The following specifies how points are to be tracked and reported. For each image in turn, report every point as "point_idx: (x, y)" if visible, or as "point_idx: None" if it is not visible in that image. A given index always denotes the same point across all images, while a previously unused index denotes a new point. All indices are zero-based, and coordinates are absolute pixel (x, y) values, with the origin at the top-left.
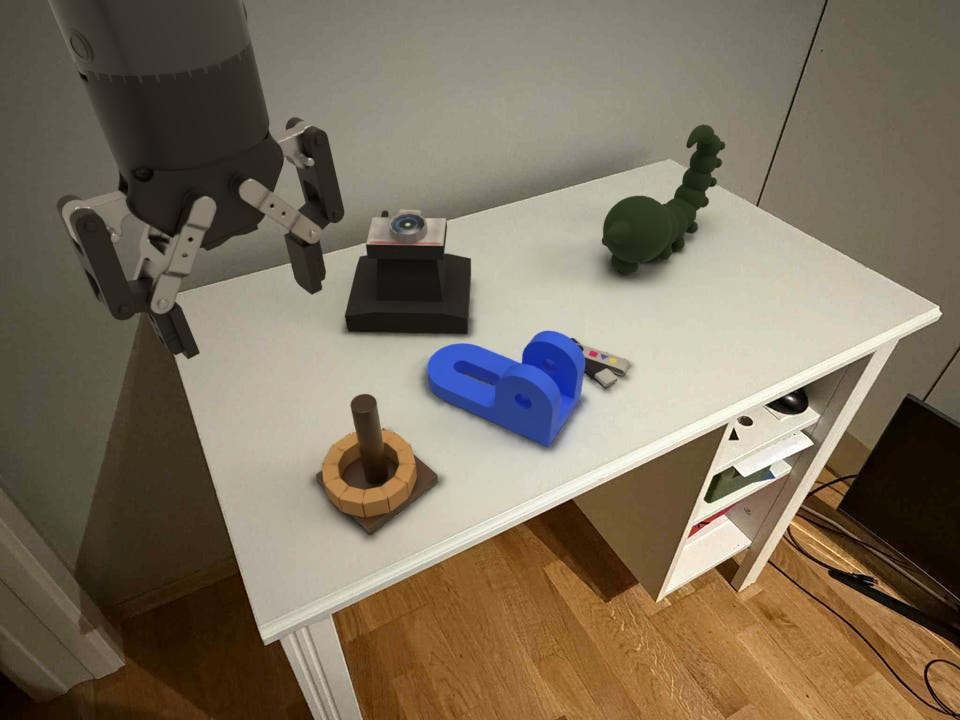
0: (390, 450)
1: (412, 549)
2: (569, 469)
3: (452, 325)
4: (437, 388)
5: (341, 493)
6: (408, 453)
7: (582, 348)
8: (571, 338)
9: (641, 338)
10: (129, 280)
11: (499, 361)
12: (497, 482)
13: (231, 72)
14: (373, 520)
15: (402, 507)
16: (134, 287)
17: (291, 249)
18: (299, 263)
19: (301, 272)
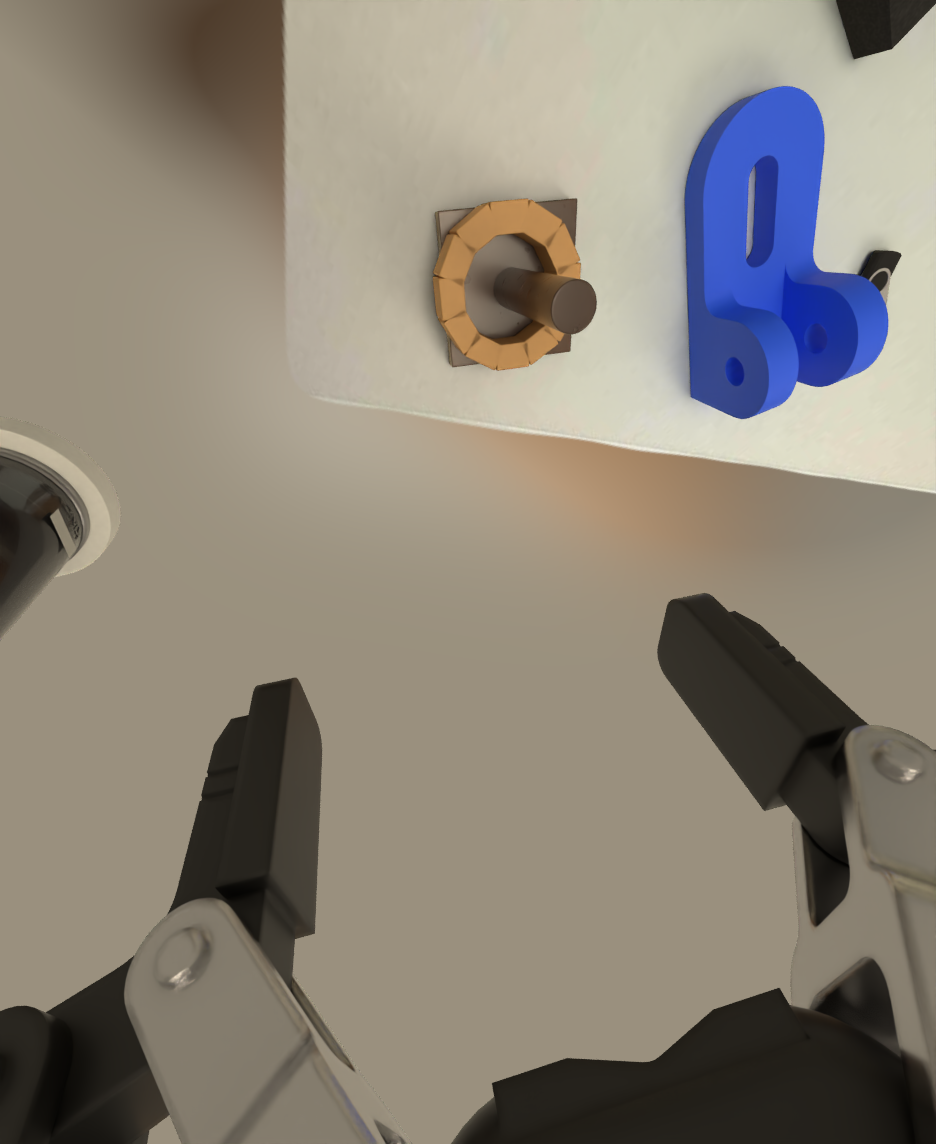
0: None
1: (478, 414)
2: (676, 437)
3: (864, 20)
4: (698, 185)
5: (450, 316)
6: None
7: (881, 288)
8: (899, 254)
9: (931, 323)
10: (119, 1088)
11: (802, 220)
12: (611, 399)
13: None
14: (463, 360)
15: None
16: (148, 1107)
17: (757, 716)
18: (721, 705)
19: (699, 676)
